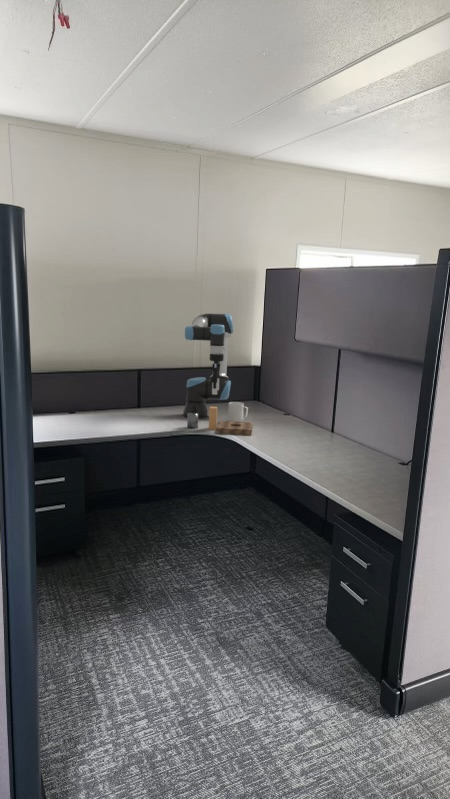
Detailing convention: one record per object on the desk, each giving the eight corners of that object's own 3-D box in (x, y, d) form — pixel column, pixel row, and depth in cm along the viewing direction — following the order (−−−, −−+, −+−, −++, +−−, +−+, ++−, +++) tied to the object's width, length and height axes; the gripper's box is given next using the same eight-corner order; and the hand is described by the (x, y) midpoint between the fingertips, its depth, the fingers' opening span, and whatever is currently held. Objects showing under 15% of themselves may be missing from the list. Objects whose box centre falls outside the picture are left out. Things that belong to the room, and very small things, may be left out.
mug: (225, 422, 318) (225, 403, 316) (232, 419, 325) (233, 401, 323) (243, 425, 312) (244, 406, 310) (250, 422, 319) (251, 403, 317)
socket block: (217, 433, 289) (217, 428, 289) (220, 426, 307) (220, 420, 307) (251, 435, 288) (251, 429, 288) (252, 427, 306) (252, 422, 305)
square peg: (208, 429, 298) (209, 408, 296) (209, 427, 302) (210, 406, 300) (216, 429, 298) (216, 408, 296) (216, 428, 302) (217, 407, 300)
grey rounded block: (185, 427, 301) (185, 413, 300) (193, 426, 305) (193, 412, 304) (191, 429, 297) (191, 415, 295) (200, 428, 301) (200, 414, 299)
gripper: (222, 356, 280) (220, 396, 284) (225, 351, 304) (223, 388, 308) (207, 355, 280) (206, 395, 284) (211, 350, 305) (210, 388, 309)
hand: (215, 392), depth 296 cm, fingers open, 13 cm apart
